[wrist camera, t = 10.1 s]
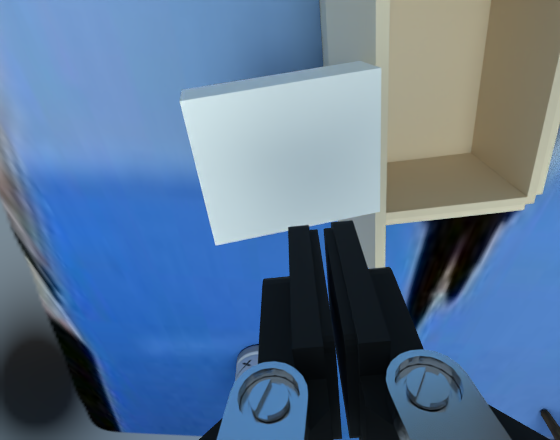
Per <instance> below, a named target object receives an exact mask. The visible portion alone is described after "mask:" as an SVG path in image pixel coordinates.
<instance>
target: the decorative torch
mask: <svg viewBox="0 0 560 440" xmlns="http://www.w3.org/2000/svg"><path fill="white" fill-rule="evenodd" d="M541 416H542V417H543V419H544V421H545V423H546V424H547V426H548V428H549V429H550V431H551V433H552V435H553V436H554V438H555V440H560V427H559V426H558V424H557V423H556V421H555V420H554V419H553V417H552V416H551V414H550V413H549V412H548V411H547V410H542V411H541Z"/></svg>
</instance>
